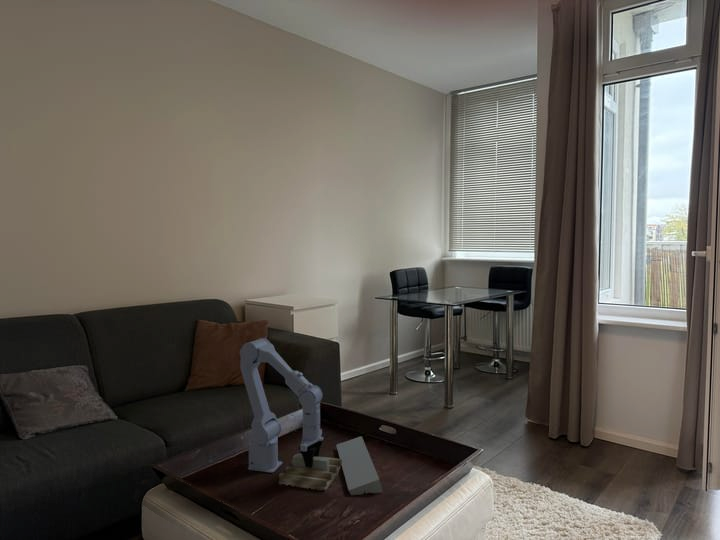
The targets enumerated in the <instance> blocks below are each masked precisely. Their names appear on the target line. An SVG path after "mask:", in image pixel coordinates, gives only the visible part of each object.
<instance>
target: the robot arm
mask: <svg viewBox="0 0 720 540" xmlns="http://www.w3.org/2000/svg"><path fill="white" fill-rule="evenodd" d="M238 353H239V355H240V363H239V368H240V371H241V374H242V375H241V376H242V378H243V382H244V385H245V388H246V392H247V396H248V400H249V403H250V406H251V409H252V413H253V416H254V417H253V420H252V423H251V424H250V425H251V429H252V433H251V437H252V440H251V441H250V444H249V447H248V466H247V470H249V471H257V472H263V473H272V474H273V473H274V472H275V471H276V470H277V469H279V467H280V466H281V465H282V464H283V461H281V460H280V461H279V457H278V455H279V451H278V450H279V449H278V447H279V446H278V445H279V444H278V443H279V441H278V438H279V435H280V433H281V432H282V425H281V422H280V420H278V418H277V416H276V414H275V413H274V412H272V411H271V410H270V407H269V403H268V400H267V396H266V393H265V389H264V387H263V382H262V380H261V375H260V373H259V370H258V369H259V368H258V367H259V365H260V364H261V363H268V364H269V365H270V366H271V367H273V368H274V369H275V371H276V372H278V373H279V374H280V375H282V377H283V378H284V381H285V384H286V385H287V387H289V389H291V391H292V392H293V393H294V394H295V395H296V396H297V397H298V401H299V403H300V405H301V408H302V437H301V443H300V445H299V446H298V450H299V452H300V454H302V456H303V459H304V463H305V467H307V468H312V466H313V458H314V456H315V457H319V456H320V452H321V449H322V448H321V447H322V446H323V443H324V436H322V435H323V429H322V428H321V401H322V399H323V396H324V394H323V391H322V389H321V388H320V386H318V385H314V384H313V383H312V382H310V381H309V380H308V379H306V378H307V377H305V376H303V375H304V373H302V372H300V371H299V370H293V369H292V368H291V367H290V366H289V365H288V363H287V362H286V361H285V360H284V359H283V357H281V355H280V354H279V353H278V352H277V350H276V349H275V346H274V344H273V343H271V342H270V341H269V339H267V338H265V337H260V338H258V339H256V340H255V339H254V340H253V341H248V342H246V343H244V344H243V345H242V347H241V348H240V350H239V352H238Z"/></svg>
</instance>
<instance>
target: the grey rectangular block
mask: <svg viewBox="0 0 720 540" xmlns="http://www.w3.org/2000/svg"><path fill="white" fill-rule="evenodd" d="M335 446H336V449H337V452H338V456H339V459H342V471H343V476H344V477H345V482H346V485H347V490H348V492H349V493H350V495H351V496H355V495H364V493H365V495H367V494H383V487H382V483H381V480H380V477H379V475H378V472H377V471H376V468H375V465H374V463H373V460H372V458H371V455H370V453H369V451H368V449H367V446H366V443H365V441H364V439H363V436H361V435H360V436H357V437H355V438H353V439H352V438H351V439H349V440H346V441H344V442H340V443H337V444H336V445H335Z"/></svg>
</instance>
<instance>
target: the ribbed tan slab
mask: <svg viewBox="0 0 720 540" xmlns="http://www.w3.org/2000/svg"><path fill="white" fill-rule="evenodd" d="M298 454H299V455H302V454H301V453H298ZM319 457H323V458H329V472H326V471H319V470H312V469H304V468H297V467H293V459H292V460H291V466H288V465H287V466H286V467H285V473H284V472H279V474H278V479H279V480H278V485H282V484H285V485H284V486H288V485H291V486H290V487H295V486H296V487H297V488H304V489H309V488H311V490H315V489H317V491H322V490H325V491H324V492H326V491H327V490H328V488H329V487H330V486H331V484H332V483H333V481H334V480H335V478H336V477H337V476H338V474H339V473H340V471H341V470H342V469H343V468H342V459H340V458H335V457H326V456H320V455H319ZM341 468H342V469H341ZM329 485H330V486H329ZM326 489H327V490H326Z"/></svg>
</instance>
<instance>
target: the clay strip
mask: <svg viewBox="0 0 720 540" xmlns="http://www.w3.org/2000/svg"><path fill="white" fill-rule="evenodd" d="M299 454H300V453H297V454H296V453H295V454H294V456H292V460H293V467H297V468H304V469H312V470H319V471H326V472H329V458H330V457H328V458H323V457H324V456H321V457H315V456H314V458H313V466H312V468H307V467H305V463H304V459H303V456H302V455H299Z"/></svg>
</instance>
